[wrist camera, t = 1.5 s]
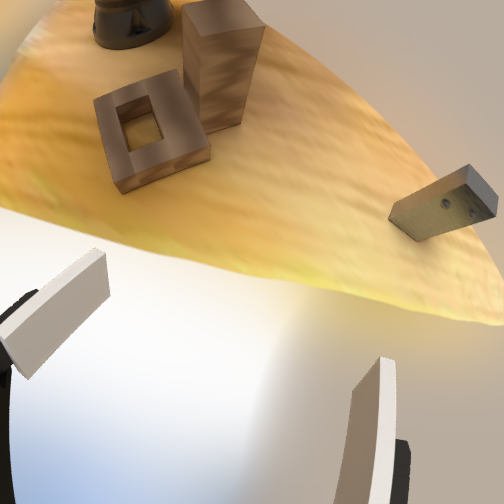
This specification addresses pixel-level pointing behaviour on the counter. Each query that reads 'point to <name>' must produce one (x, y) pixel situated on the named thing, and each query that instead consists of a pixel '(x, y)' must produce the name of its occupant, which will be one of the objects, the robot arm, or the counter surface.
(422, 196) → the grey metal block
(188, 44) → the wooden post with frame
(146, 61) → the counter surface
